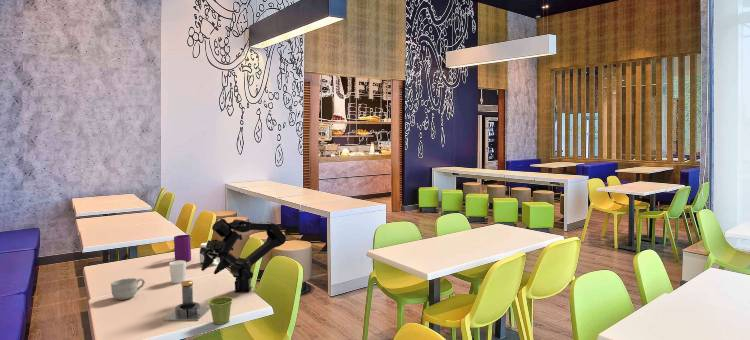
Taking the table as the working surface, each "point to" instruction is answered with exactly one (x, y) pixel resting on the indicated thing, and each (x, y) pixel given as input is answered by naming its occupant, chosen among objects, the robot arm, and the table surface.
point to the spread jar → (203, 245)
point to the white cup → (178, 271)
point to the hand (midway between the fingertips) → (208, 272)
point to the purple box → (182, 248)
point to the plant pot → (220, 309)
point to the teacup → (125, 288)
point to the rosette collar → (187, 313)
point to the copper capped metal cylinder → (187, 294)
